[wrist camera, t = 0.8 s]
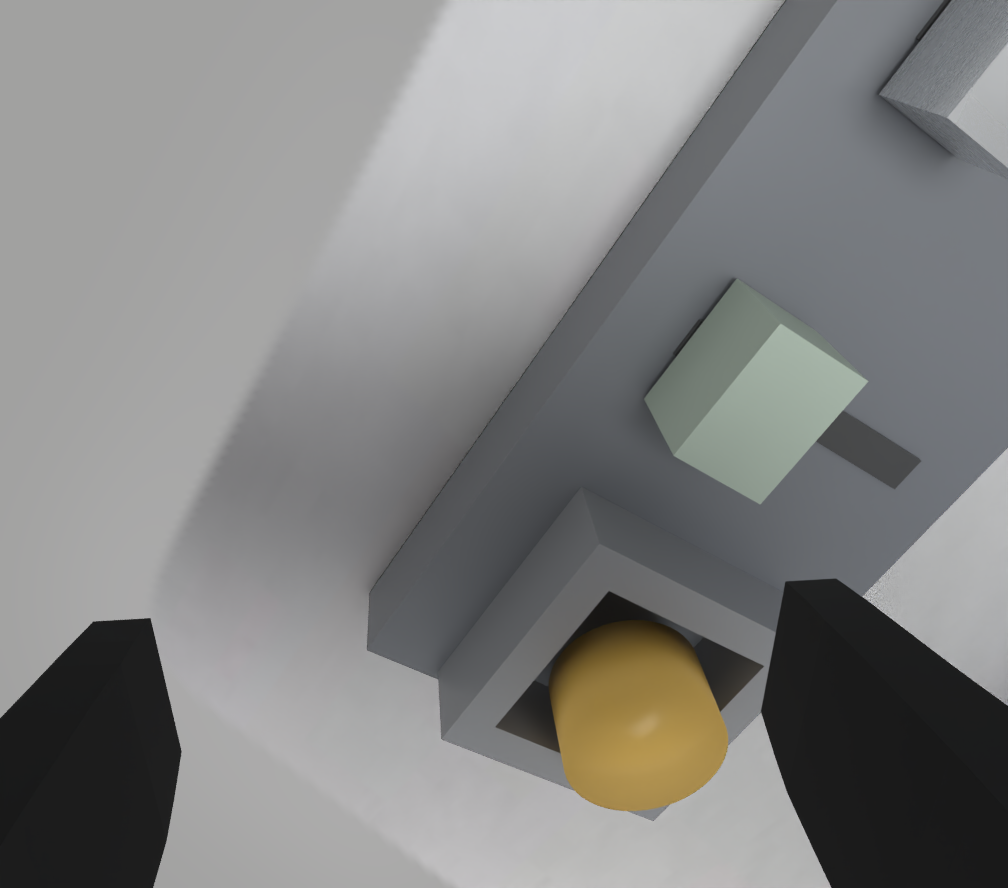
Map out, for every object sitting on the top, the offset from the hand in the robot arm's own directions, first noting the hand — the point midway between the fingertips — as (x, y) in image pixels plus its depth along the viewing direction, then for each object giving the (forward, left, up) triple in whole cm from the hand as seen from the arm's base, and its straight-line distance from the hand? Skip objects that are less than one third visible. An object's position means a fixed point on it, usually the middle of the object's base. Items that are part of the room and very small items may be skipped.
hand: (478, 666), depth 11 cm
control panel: (-7, +2, -10) cm, 12 cm away
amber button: (-2, +7, -6) cm, 9 cm away
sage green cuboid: (-5, +1, -8) cm, 9 cm away
